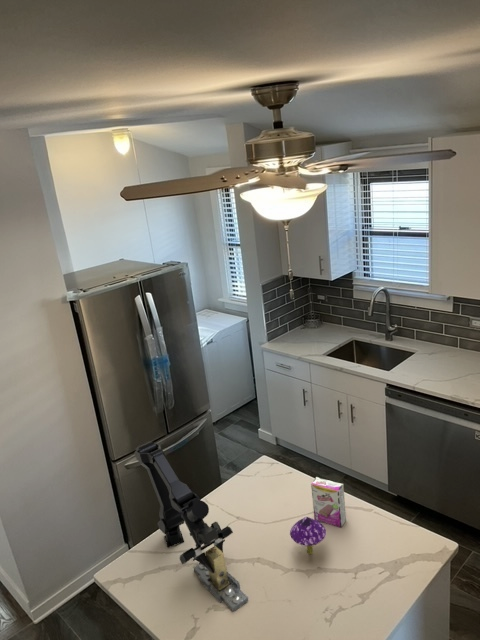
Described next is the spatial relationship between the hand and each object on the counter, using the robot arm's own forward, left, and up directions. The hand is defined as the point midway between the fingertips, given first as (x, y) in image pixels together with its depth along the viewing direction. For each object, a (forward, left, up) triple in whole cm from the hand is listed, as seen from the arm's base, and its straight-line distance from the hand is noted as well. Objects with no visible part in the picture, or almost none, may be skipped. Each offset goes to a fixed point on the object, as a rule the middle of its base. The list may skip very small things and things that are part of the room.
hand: (219, 569), depth 170 cm
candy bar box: (-13, +47, -8) cm, 49 cm away
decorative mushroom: (-1, +33, -8) cm, 33 cm away
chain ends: (-1, 0, -7) cm, 8 cm away
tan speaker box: (-1, 0, -7) cm, 7 cm away
